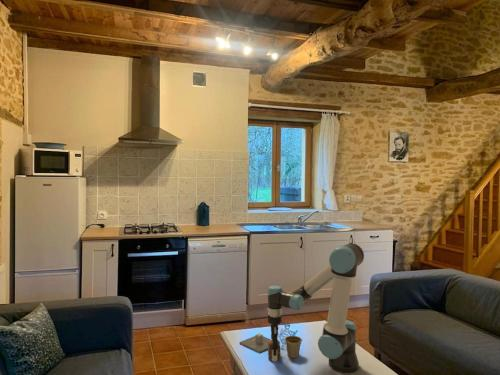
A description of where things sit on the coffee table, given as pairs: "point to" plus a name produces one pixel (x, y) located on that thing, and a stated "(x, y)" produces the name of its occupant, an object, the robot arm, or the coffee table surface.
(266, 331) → the coffee table surface
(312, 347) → the coffee table surface
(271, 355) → the knob
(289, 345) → the flower pot
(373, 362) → the coffee table surface
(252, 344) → the post plate
